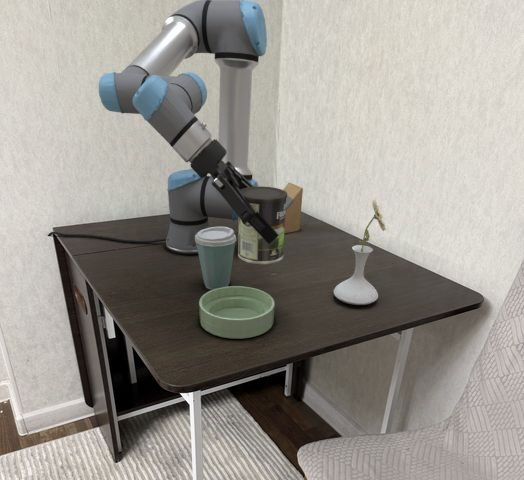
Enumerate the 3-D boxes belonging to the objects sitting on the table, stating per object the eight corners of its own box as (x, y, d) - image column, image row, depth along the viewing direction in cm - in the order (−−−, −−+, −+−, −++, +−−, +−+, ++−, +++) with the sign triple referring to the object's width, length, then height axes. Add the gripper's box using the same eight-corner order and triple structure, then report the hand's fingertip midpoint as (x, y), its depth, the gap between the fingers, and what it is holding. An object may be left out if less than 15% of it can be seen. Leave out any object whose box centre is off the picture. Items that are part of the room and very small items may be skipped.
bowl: (185, 326, 110) (184, 307, 107) (225, 298, 123) (225, 280, 120) (250, 347, 103) (250, 327, 100) (285, 315, 116) (287, 296, 113)
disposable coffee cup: (205, 296, 123) (203, 240, 115) (190, 280, 131) (187, 227, 123) (242, 289, 127) (243, 234, 119) (226, 274, 135) (225, 222, 127)
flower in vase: (367, 313, 118) (384, 212, 105) (325, 301, 123) (336, 203, 110) (385, 295, 127) (403, 200, 114) (345, 284, 132) (358, 192, 119)
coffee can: (286, 250, 111) (290, 188, 104) (278, 267, 103) (282, 200, 95) (243, 245, 113) (244, 184, 105) (232, 261, 104) (232, 196, 97)
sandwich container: (250, 229, 169) (251, 186, 161) (286, 223, 176) (288, 181, 168) (263, 237, 163) (264, 192, 155) (299, 230, 170) (303, 187, 162)
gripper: (203, 147, 86) (286, 237, 93) (222, 128, 105) (289, 204, 113) (176, 176, 89) (258, 261, 97) (198, 153, 108) (265, 225, 116)
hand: (275, 231), depth 105 cm, fingers closed on coffee can, 10 cm apart
